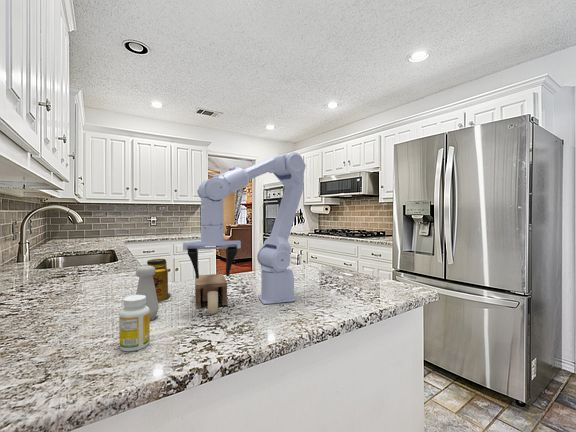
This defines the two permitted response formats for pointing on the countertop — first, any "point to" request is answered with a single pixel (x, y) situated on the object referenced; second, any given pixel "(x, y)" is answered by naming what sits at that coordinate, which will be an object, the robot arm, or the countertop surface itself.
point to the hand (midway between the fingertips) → (212, 276)
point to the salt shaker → (148, 288)
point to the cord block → (211, 298)
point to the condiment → (160, 279)
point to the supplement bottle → (134, 323)
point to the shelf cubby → (210, 282)
